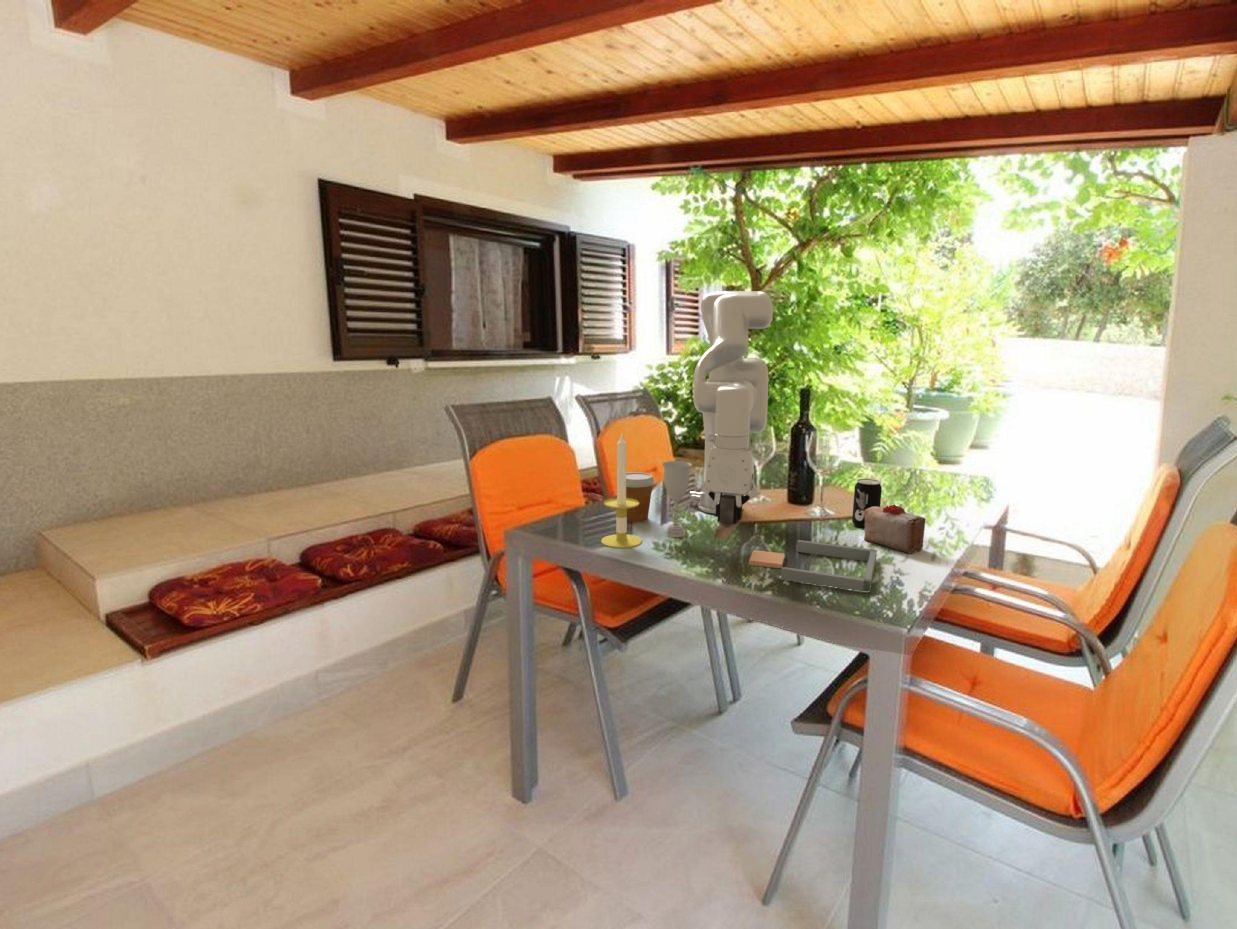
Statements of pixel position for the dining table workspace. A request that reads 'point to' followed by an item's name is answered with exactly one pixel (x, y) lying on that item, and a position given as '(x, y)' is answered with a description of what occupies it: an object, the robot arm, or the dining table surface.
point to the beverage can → (865, 499)
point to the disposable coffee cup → (639, 495)
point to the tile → (767, 559)
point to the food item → (894, 528)
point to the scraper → (726, 516)
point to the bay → (833, 579)
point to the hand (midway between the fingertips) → (728, 520)
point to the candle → (621, 505)
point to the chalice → (676, 490)
